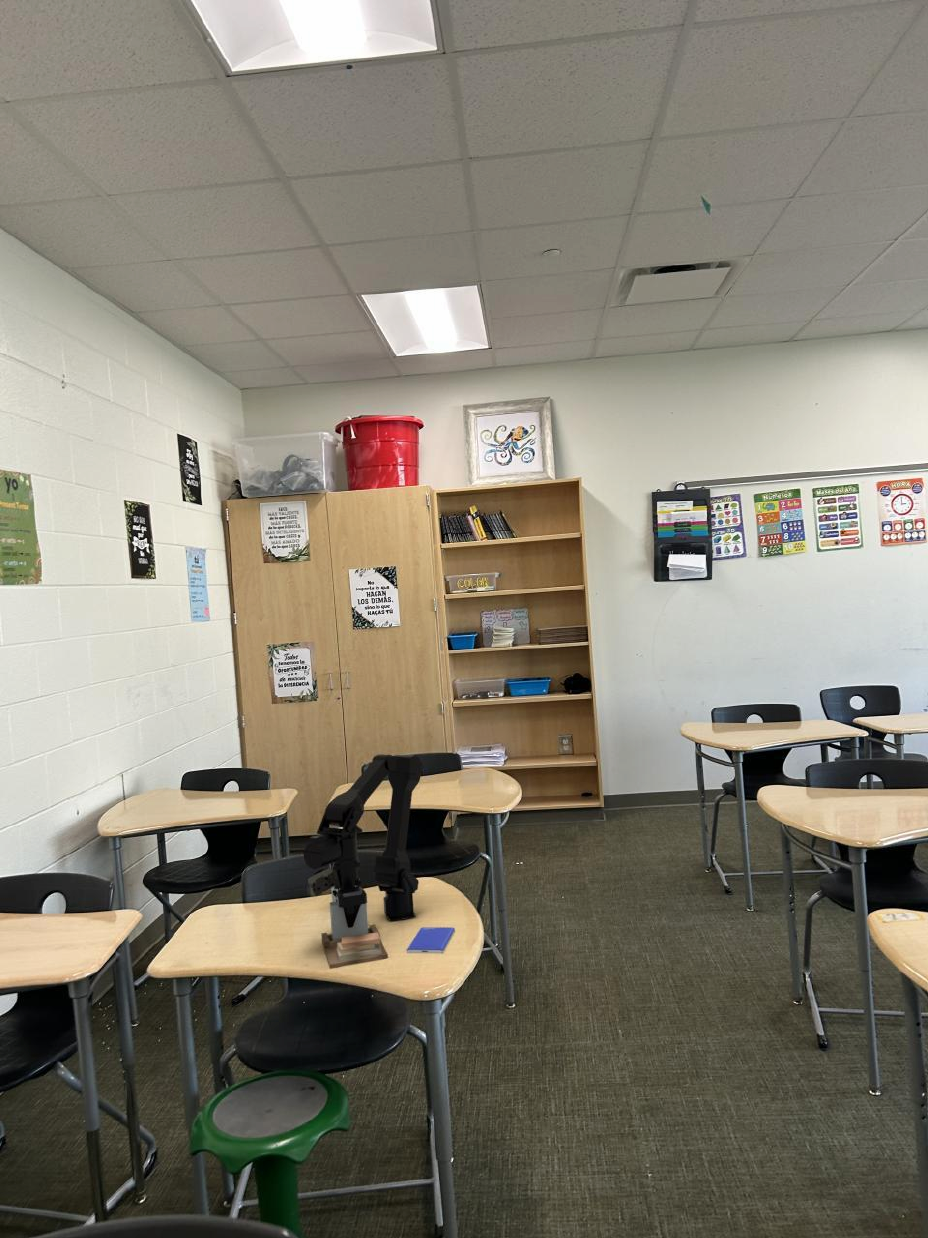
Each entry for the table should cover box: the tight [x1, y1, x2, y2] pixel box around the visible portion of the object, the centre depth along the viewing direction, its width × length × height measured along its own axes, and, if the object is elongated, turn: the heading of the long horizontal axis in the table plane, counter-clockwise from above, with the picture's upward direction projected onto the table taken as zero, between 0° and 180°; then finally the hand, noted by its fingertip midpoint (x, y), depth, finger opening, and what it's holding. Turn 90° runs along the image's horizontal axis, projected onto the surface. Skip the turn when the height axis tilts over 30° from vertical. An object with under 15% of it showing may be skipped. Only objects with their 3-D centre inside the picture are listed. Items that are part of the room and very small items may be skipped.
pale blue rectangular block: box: [329, 901, 369, 941], centre depth 184 cm, size 8×2×8 cm, turn 106°
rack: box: [321, 924, 389, 969], centre depth 180 cm, size 12×15×2 cm
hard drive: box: [406, 926, 456, 955], centre depth 181 cm, size 2×8×12 cm
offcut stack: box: [337, 932, 382, 961], centre depth 176 cm, size 9×5×3 cm, turn 106°
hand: (349, 925), depth 184 cm, fingers closed on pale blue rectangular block, 2 cm apart
